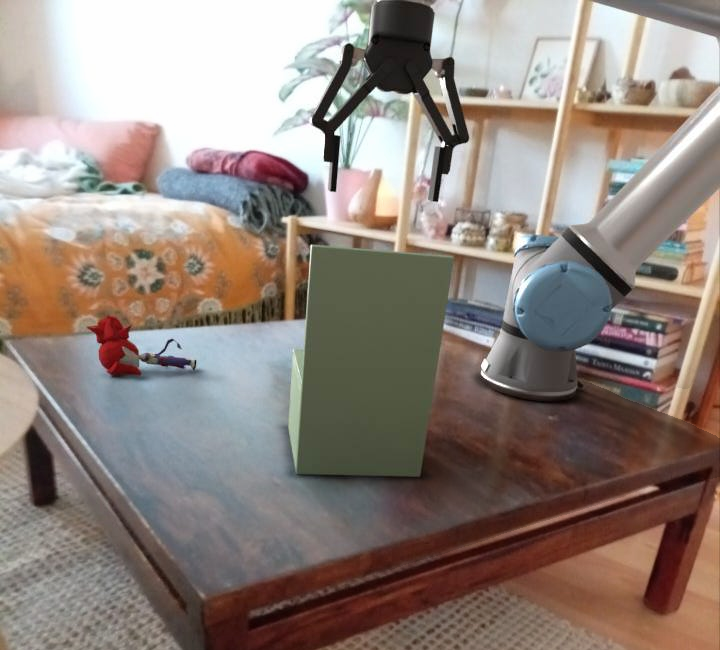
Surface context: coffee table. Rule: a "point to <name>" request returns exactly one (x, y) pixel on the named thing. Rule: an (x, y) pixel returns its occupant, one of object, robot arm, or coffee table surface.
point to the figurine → (128, 350)
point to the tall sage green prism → (367, 361)
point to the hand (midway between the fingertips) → (383, 196)
